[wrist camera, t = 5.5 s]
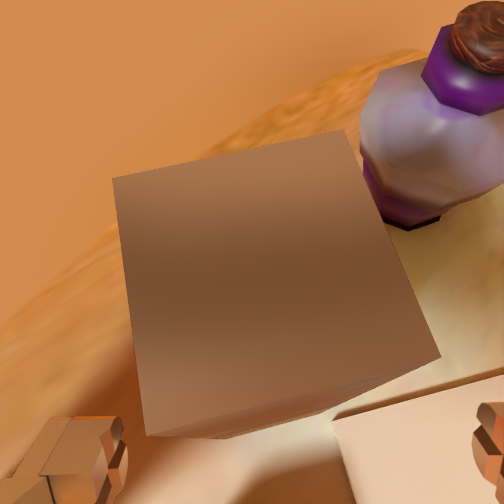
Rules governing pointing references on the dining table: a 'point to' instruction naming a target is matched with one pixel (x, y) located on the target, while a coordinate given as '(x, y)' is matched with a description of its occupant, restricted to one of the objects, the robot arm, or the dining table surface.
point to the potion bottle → (438, 123)
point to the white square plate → (419, 448)
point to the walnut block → (262, 289)
